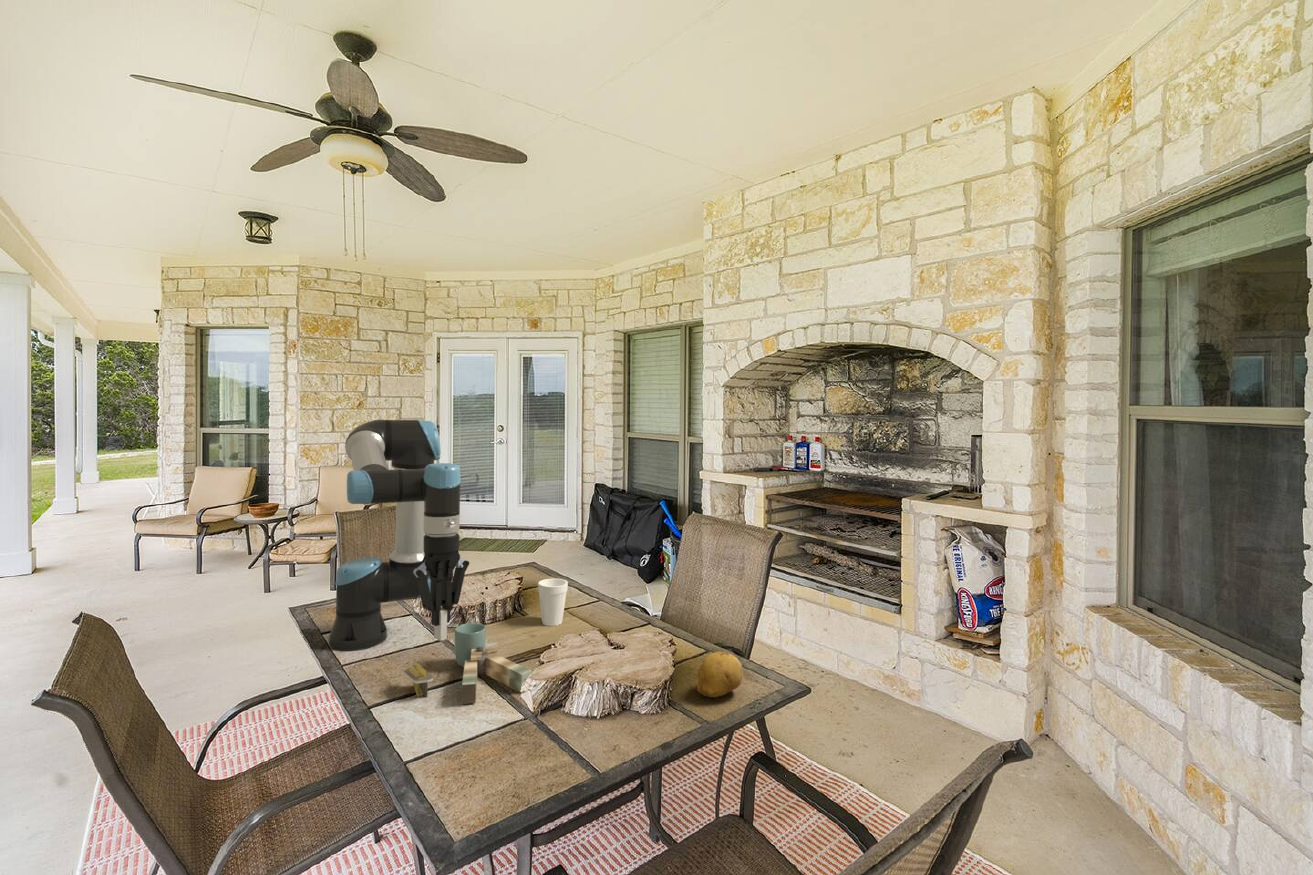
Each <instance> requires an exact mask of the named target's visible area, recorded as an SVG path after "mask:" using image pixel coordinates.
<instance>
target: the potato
mask: <svg viewBox="0 0 1313 875" xmlns="http://www.w3.org/2000/svg"><path fill="white" fill-rule="evenodd" d="M697 671H698V672H697V679H698V680H697V683H696V688H697V689H696V690H697V692H698V693H700V694H701V695H702V694H703V695H705V696H704V697H706V696H708V697H707V698H712V697H713V698H715V697H716V698H719V697H718V696H720V697H722V696H724V695H726V694H728V693H729V692H732V691H734V690H737V689H738V688H739V686H741V684H742V681H743V677H744V676H743V675H744V674H743V673H744V672H743V665H742V663H741V661H740V659H739V658H738V657H736V656H735V655H733V654H730V653H728V652H724V651H719V650H717V651H715V652H711V653H710V654H708V655H707V656H706V657H705V658H704V659H703V660H702V662H701V664H700V666H699V668H698V670H697ZM703 695H702V696H703Z"/></svg>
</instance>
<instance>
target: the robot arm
mask: <svg viewBox="0 0 1313 875" xmlns="http://www.w3.org/2000/svg"><path fill="white" fill-rule="evenodd" d="M344 447H345V454H346V456H347V457H348V458H349V460H350V461H351V464H352V470H351V471H348V473H347V475H346V500H347V502H348V503H349V504H351V505H365V506H367V505H375V504H390V503H391V504H392V503H395V535H394V536H395V538H394V540H395V541H394V543H395V544H394V545H395V547H394V550H393V551H392V552H391V553H390V554H389V561H382V560H381V558H380V557H377V556H373V557H371V556H368V557H367V556H366V557H361V558H356V559H353V560H349V561H347V562H345V563H342V564H341V565H339V567H338V568H337V571H336V579H335V586H336V593H335V595H336V596H335V600H336V601H335V603H336V605H335V618H334V622H333V624H332V627H331V630H330V633H329V635H328V646H329V647H331V648H332V649H334V650H338V651H356V650H357V651H358V650H365V649H369V648H372V647H375V646H378V645H380V644H382V643H383V642H385V641H386V640H387V639H388V638H387V637H388V629H387V625H386V623H385V620H384V618H383V614H382V611H381V608H382V607H381V604H382V603H390V602H398V601H410V600H417V599H420V602H421V606H422V608H423V609H425V610H427V611H429V612H431V613H430V615H431V616H430V618H431V619H430V621H431V622H430V623H431V625H432V626H434V630H433V633H434V637H433V638H435V639H436V640H438V641H441V642H442V641H445V640H447V639H448V623H450V621H451V611H452V610H453V609H454V605H458V604H459V602H460V597H461V594H462V593H461V592H462V588H463V584H464V580H465V579H464V578H465V576H466V575H465V574H466V571H467V569H468V567H469V565H470V561H469V560H466V559H463V558H462V557H461V555H460V552H459V550H460V534H459V532H460V522H461V521H460V520H461V519H460V515H461V514H460V511H461V510H460V508H461V482H462V478H461V468H460V466H459V465H458V464H456V463H447V462H446V463H444V462H443V463H442V462H441V463H440V462H439V463H438V462H437V463H435V462H436V461H439V460H440V459H441V453H442V452H441V442H440V434H439V431H438V427H437V425H436V424H435V423H434V422H433V421H431V420H422V419H421V420H420V419H375V420H371V421H368V422H364V423H362V424H360V425H359V426H357V427H355V428H354V429H353V430H352V431H351V432H350V433H349V434H348V436H347V437H346V440H345V443H344ZM388 461H390V463H391V468H393V469H389V466H388Z"/></svg>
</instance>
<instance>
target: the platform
mask: <svg viewBox="0 0 1313 875" xmlns="http://www.w3.org/2000/svg"><path fill="white" fill-rule="evenodd" d="M408 666H409V667H408V668H407V669H405V670H404V672H403V675H405V676H406V677H407V678H408V679H410V680H411V682H412V685H413V687H414V690H415V691H414V692H415V693H416V694H415V695H416V697H418V698H419V697H420V696H424V697H425V698H428V689H429V688H428V687H429V686H428V684H429V683H430V682H433V681H434V678H433V676H432V675H430V674H429V673H428V672H427V670H426V669H424V668H423V667H422V666H421V665H420V664H419V663H417V662H414V665H411V664H409V665H408Z"/></svg>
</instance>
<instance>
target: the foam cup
mask: <svg viewBox="0 0 1313 875" xmlns="http://www.w3.org/2000/svg"><path fill="white" fill-rule="evenodd" d="M537 586H538V588H537V591H538V595H539V605H540V614H541V622H542V624H543V625H544V626H548V627H553V626H555V625H556V626H560V625H562V623H563V618H564V612H565V607H566V606H565V605H566V599H567V592H568V590H569V588H568V587H569V581H568V580H566V579H562V578H545V579H541V580H539V581H538V583H537ZM559 624H560V625H559Z"/></svg>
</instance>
